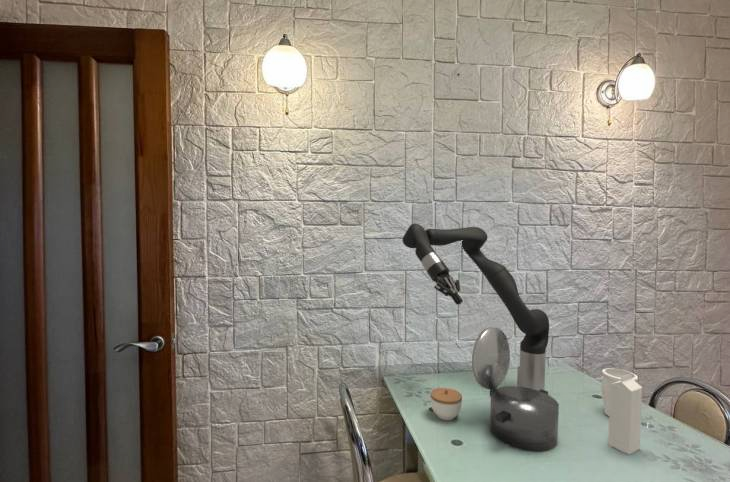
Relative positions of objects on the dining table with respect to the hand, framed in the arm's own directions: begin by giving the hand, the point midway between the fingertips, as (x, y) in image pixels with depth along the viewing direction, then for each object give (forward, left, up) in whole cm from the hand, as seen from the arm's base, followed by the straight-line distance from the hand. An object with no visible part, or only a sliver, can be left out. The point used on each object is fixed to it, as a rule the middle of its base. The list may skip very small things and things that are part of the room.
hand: (460, 303), depth 140 cm
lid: (+14, +4, -17) cm, 22 cm away
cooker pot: (+24, +6, -38) cm, 45 cm away
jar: (+29, +46, -38) cm, 67 cm away
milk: (+42, +28, -38) cm, 64 cm away
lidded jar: (+5, -10, -38) cm, 40 cm away
